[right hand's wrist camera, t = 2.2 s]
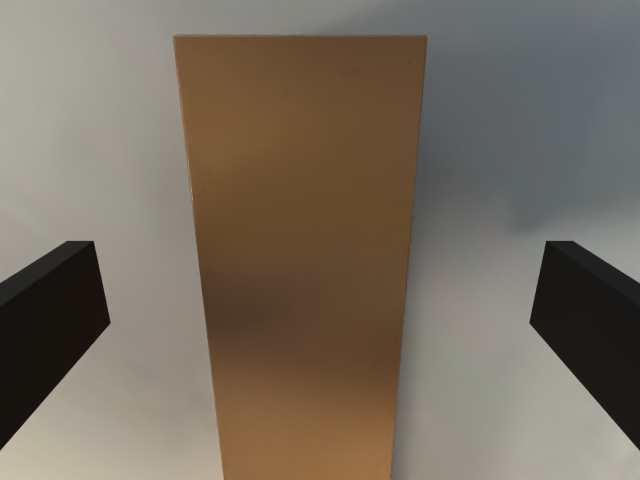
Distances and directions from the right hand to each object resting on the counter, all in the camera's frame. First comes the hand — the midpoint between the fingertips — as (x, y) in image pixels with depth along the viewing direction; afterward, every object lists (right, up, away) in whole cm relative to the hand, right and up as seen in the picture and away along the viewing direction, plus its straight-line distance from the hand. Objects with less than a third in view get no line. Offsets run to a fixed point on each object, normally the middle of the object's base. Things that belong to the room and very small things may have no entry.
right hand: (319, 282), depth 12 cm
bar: (0, -22, +14) cm, 26 cm away
